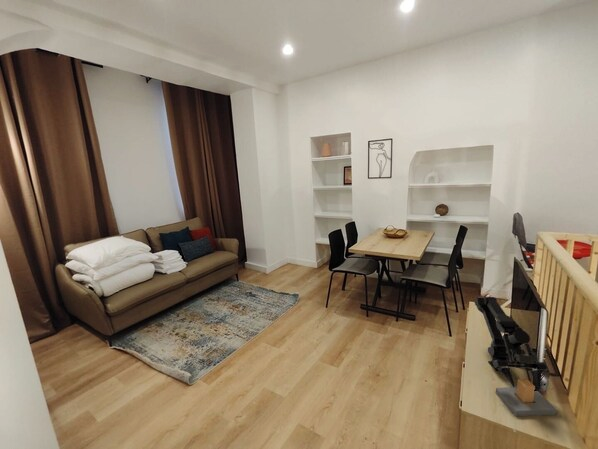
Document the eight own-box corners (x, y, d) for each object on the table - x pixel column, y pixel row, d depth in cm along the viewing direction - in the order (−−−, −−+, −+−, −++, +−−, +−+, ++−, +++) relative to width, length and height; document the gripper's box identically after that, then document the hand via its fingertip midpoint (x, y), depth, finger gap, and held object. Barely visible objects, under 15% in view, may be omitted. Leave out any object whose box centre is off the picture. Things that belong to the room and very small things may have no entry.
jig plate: (495, 392, 124) (496, 387, 123) (532, 391, 123) (532, 386, 123) (515, 416, 112) (515, 410, 112) (555, 414, 111) (556, 409, 111)
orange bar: (515, 399, 120) (517, 379, 118) (525, 398, 120) (527, 379, 118) (522, 407, 116) (525, 386, 114) (532, 406, 116) (534, 386, 114)
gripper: (497, 343, 120) (509, 384, 111) (547, 346, 116) (563, 388, 107) (488, 348, 129) (498, 386, 120) (534, 350, 125) (548, 390, 116)
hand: (526, 388), depth 116 cm, fingers open, 9 cm apart
